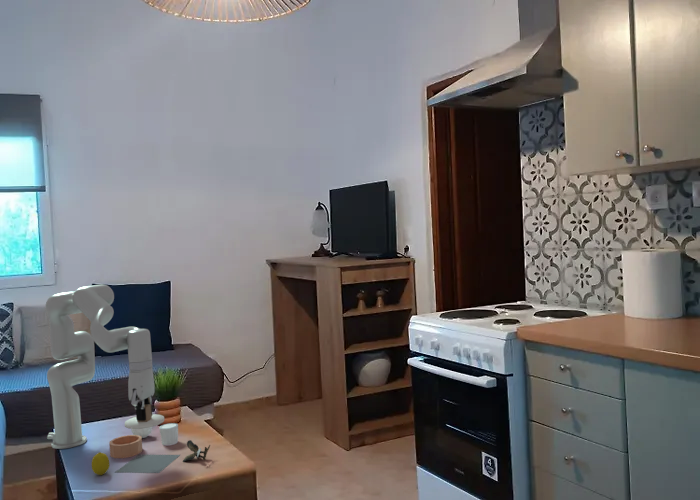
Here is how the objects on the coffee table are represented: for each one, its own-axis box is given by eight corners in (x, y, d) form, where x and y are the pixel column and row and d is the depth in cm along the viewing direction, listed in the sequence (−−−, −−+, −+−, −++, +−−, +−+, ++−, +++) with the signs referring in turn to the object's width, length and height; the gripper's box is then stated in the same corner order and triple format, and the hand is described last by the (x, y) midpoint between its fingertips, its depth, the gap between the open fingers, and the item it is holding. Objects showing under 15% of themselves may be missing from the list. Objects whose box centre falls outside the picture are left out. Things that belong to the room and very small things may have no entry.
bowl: (104, 459, 227) (103, 445, 227) (120, 448, 238) (119, 434, 238) (132, 459, 225) (131, 445, 225) (148, 448, 236) (147, 435, 236)
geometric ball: (139, 443, 250) (137, 424, 254) (157, 435, 249) (154, 416, 253) (128, 440, 244) (125, 420, 248) (146, 432, 243) (143, 412, 247)
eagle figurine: (212, 451, 225) (188, 447, 226) (209, 439, 220) (185, 434, 222) (203, 470, 219) (179, 465, 220) (200, 457, 214) (175, 452, 216)
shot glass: (182, 440, 242) (180, 422, 242) (175, 447, 235) (174, 428, 235) (164, 441, 243) (163, 423, 242) (157, 447, 236) (156, 429, 236)
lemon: (95, 473, 214) (93, 450, 214) (112, 471, 215) (110, 448, 214) (90, 480, 209) (88, 456, 208) (107, 478, 209) (105, 454, 209)
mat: (114, 473, 213) (114, 472, 213) (139, 455, 228) (138, 454, 228) (159, 474, 210) (158, 472, 210) (180, 456, 225) (180, 454, 225)
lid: (117, 428, 213) (115, 411, 213) (137, 416, 226) (135, 400, 226) (153, 429, 211) (151, 411, 211) (171, 416, 224) (169, 400, 223)
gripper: (142, 359, 226) (146, 410, 227) (117, 371, 210) (121, 426, 211) (162, 359, 225) (165, 410, 226) (138, 371, 209) (142, 426, 210)
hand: (144, 417), depth 218 cm, fingers closed on lid, 3 cm apart
